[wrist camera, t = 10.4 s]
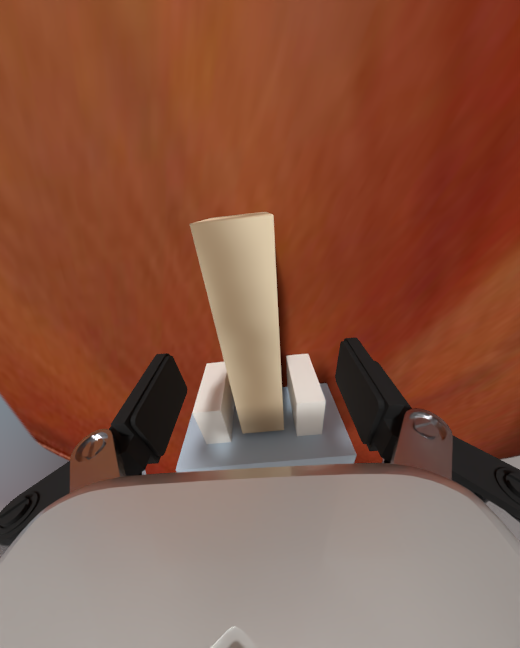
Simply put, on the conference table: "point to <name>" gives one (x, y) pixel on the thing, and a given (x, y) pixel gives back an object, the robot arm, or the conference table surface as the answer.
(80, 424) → the conference table surface
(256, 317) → the rail
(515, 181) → the conference table surface
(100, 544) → the robot arm
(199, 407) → the slotted stand base
